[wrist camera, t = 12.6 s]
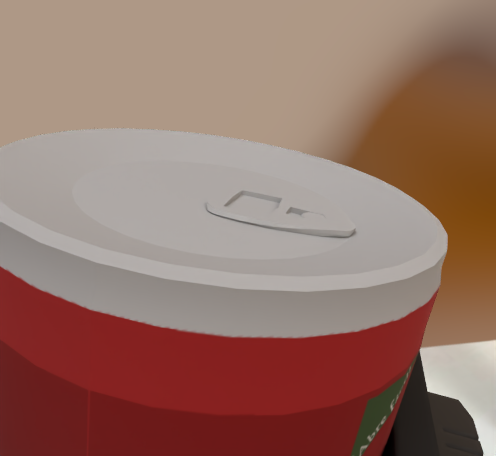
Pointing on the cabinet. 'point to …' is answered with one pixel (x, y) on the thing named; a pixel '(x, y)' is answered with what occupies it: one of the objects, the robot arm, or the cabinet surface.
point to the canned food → (204, 298)
